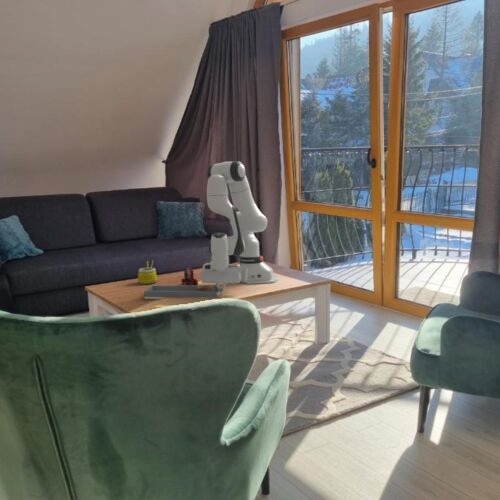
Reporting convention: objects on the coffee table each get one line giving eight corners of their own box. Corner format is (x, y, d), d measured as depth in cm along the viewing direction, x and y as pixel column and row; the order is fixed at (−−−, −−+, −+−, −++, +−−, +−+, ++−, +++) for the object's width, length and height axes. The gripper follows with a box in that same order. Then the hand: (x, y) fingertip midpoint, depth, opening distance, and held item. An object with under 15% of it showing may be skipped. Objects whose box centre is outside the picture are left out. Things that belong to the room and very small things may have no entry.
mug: (148, 285, 322) (147, 264, 320) (134, 283, 328) (132, 263, 325) (163, 280, 332) (162, 260, 330) (149, 279, 338) (148, 259, 336)
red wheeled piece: (192, 282, 325) (191, 264, 323) (199, 287, 314) (198, 269, 312) (180, 284, 322) (179, 266, 321) (187, 289, 311) (186, 270, 309)
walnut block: (214, 292, 298) (214, 285, 297) (212, 295, 292) (211, 288, 291) (199, 292, 299) (199, 285, 298) (196, 295, 293) (196, 288, 292)
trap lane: (221, 293, 301) (221, 285, 300) (216, 299, 289) (216, 291, 288) (152, 292, 306) (151, 285, 306) (144, 298, 294) (144, 291, 294)
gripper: (241, 263, 293) (242, 289, 295) (202, 263, 296) (203, 289, 298) (239, 266, 287) (240, 292, 289) (199, 266, 290) (200, 292, 292)
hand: (221, 291), depth 294 cm, fingers closed
